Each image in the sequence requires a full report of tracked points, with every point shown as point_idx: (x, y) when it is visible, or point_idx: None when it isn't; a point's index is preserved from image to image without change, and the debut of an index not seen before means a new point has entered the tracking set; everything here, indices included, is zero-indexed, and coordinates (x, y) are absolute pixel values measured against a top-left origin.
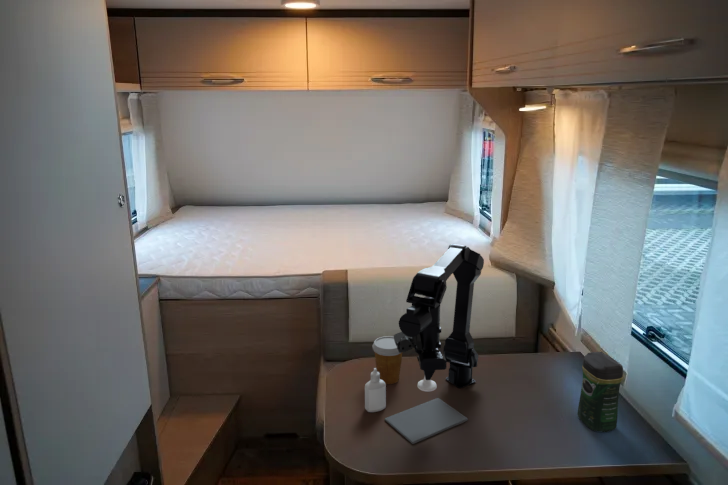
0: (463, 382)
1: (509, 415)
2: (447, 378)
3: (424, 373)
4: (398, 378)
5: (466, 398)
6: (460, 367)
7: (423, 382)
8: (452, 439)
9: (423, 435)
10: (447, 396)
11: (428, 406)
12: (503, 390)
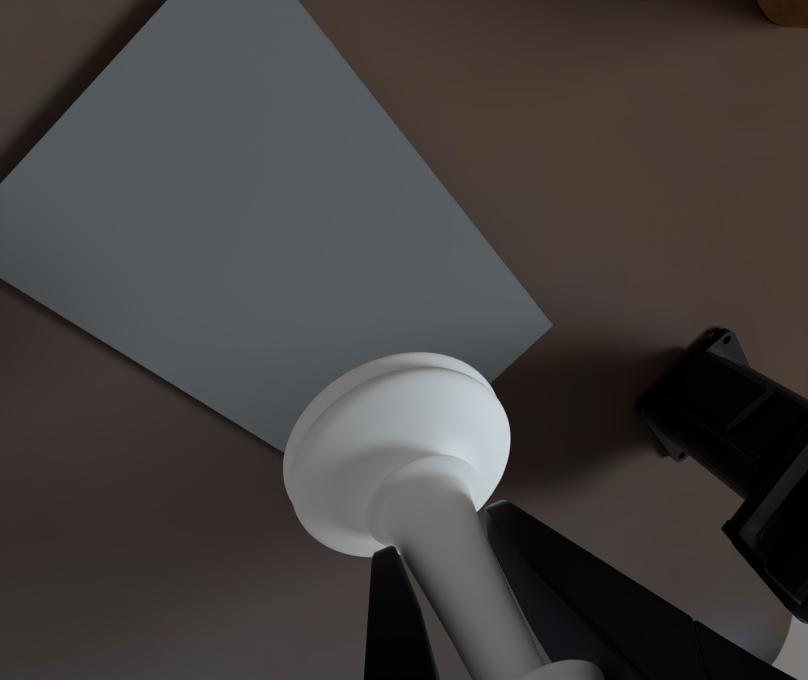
0: (669, 427)
1: (427, 615)
2: (726, 337)
3: (503, 533)
4: (792, 23)
5: (552, 447)
6: (751, 471)
7: (397, 464)
8: (146, 466)
9: (85, 310)
10: (573, 362)
11: (458, 286)
12: (603, 556)
